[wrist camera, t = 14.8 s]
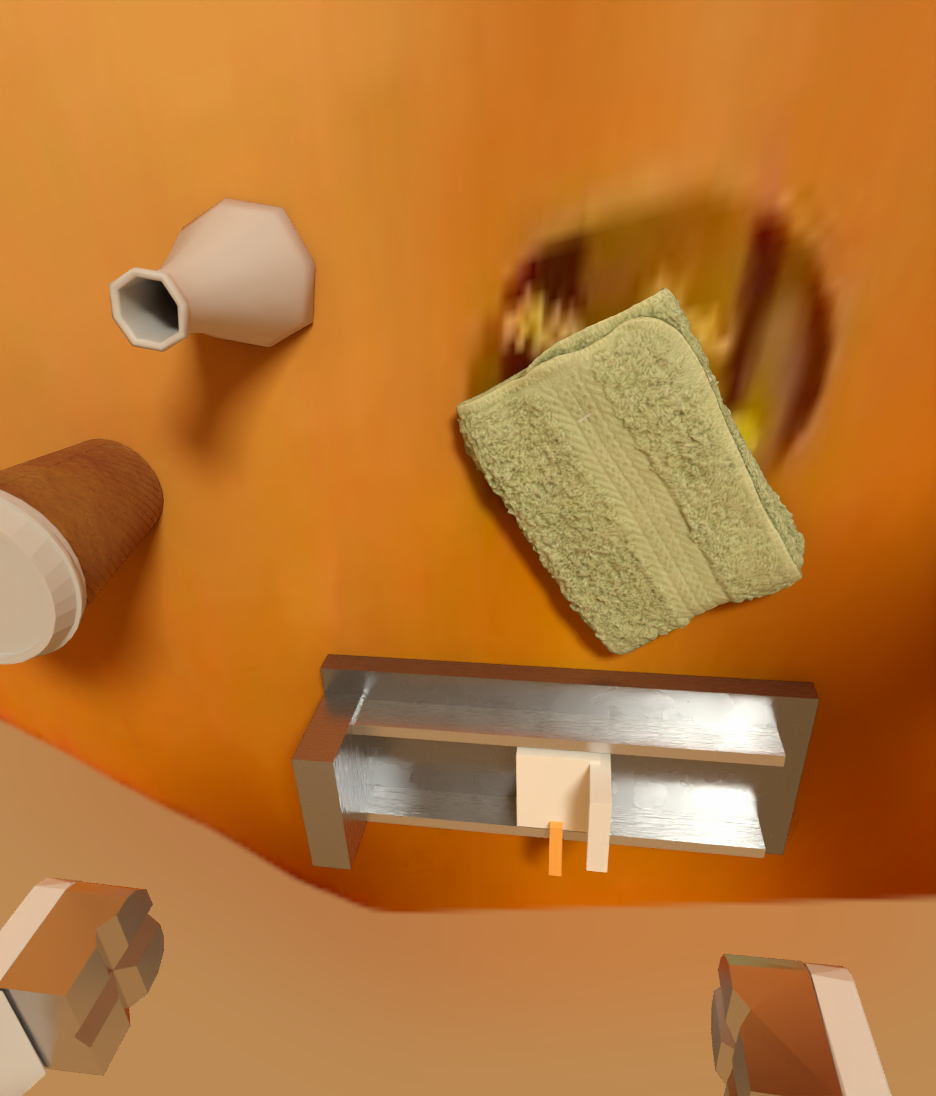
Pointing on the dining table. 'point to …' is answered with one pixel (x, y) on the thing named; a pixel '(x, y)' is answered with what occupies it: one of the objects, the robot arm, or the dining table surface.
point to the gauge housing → (550, 723)
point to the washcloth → (633, 477)
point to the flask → (221, 282)
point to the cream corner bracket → (566, 799)
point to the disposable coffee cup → (67, 538)
